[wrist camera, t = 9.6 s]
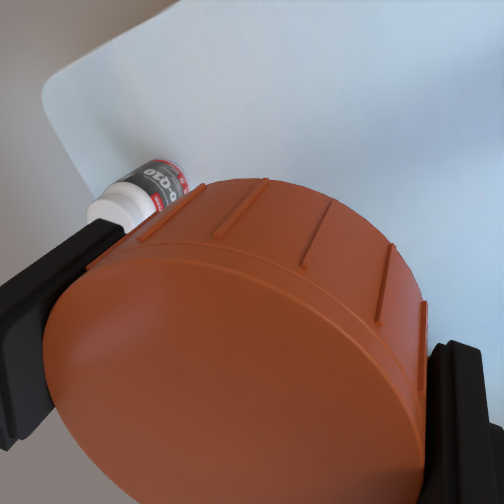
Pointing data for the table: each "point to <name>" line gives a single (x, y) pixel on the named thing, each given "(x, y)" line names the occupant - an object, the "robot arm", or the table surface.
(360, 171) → the table surface
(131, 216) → the pill bottle
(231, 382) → the thermos lid
